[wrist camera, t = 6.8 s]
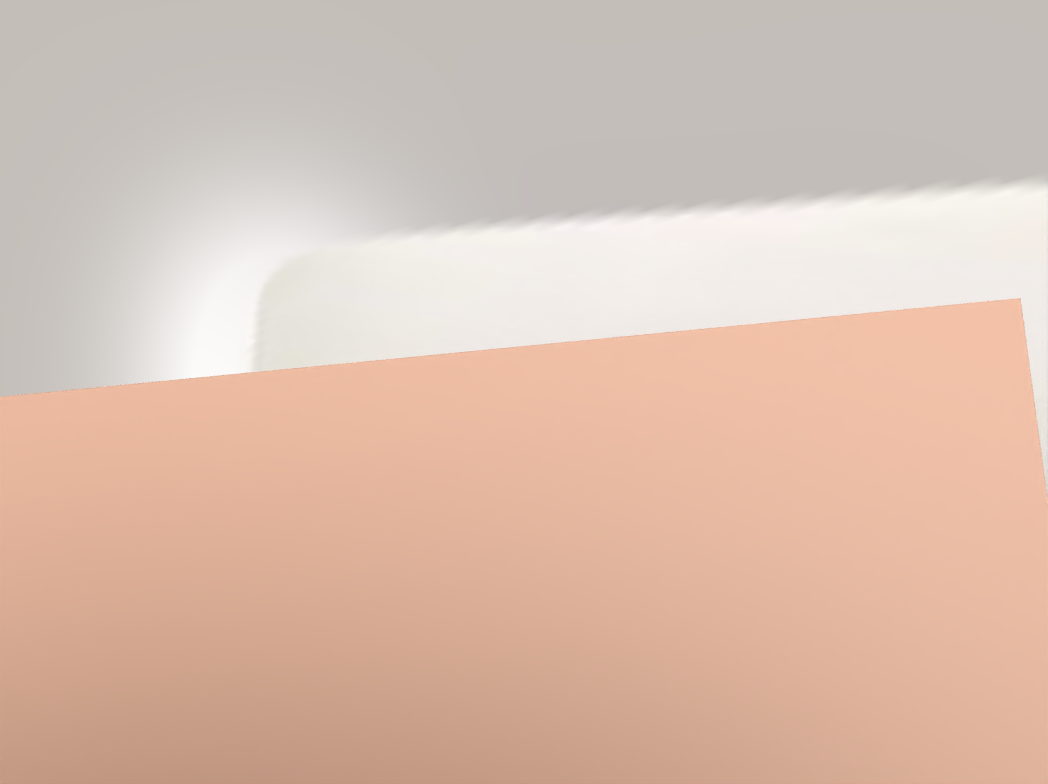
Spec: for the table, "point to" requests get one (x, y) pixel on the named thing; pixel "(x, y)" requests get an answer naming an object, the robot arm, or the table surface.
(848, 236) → the table surface
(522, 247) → the table surface
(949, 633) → the terracotta block
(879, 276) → the table surface
